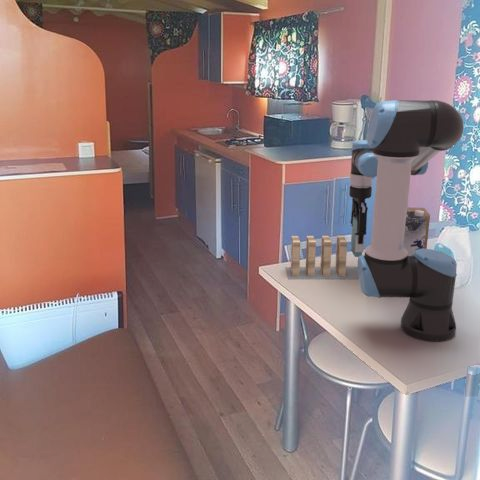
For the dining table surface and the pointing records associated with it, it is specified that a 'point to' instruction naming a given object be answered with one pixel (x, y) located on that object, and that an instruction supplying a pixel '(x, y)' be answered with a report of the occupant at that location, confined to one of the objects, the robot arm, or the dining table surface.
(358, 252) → the end tile
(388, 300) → the dining table surface
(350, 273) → the mat
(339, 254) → the tile
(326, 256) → the tile
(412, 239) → the juice carton
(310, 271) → the tile
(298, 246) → the tile
